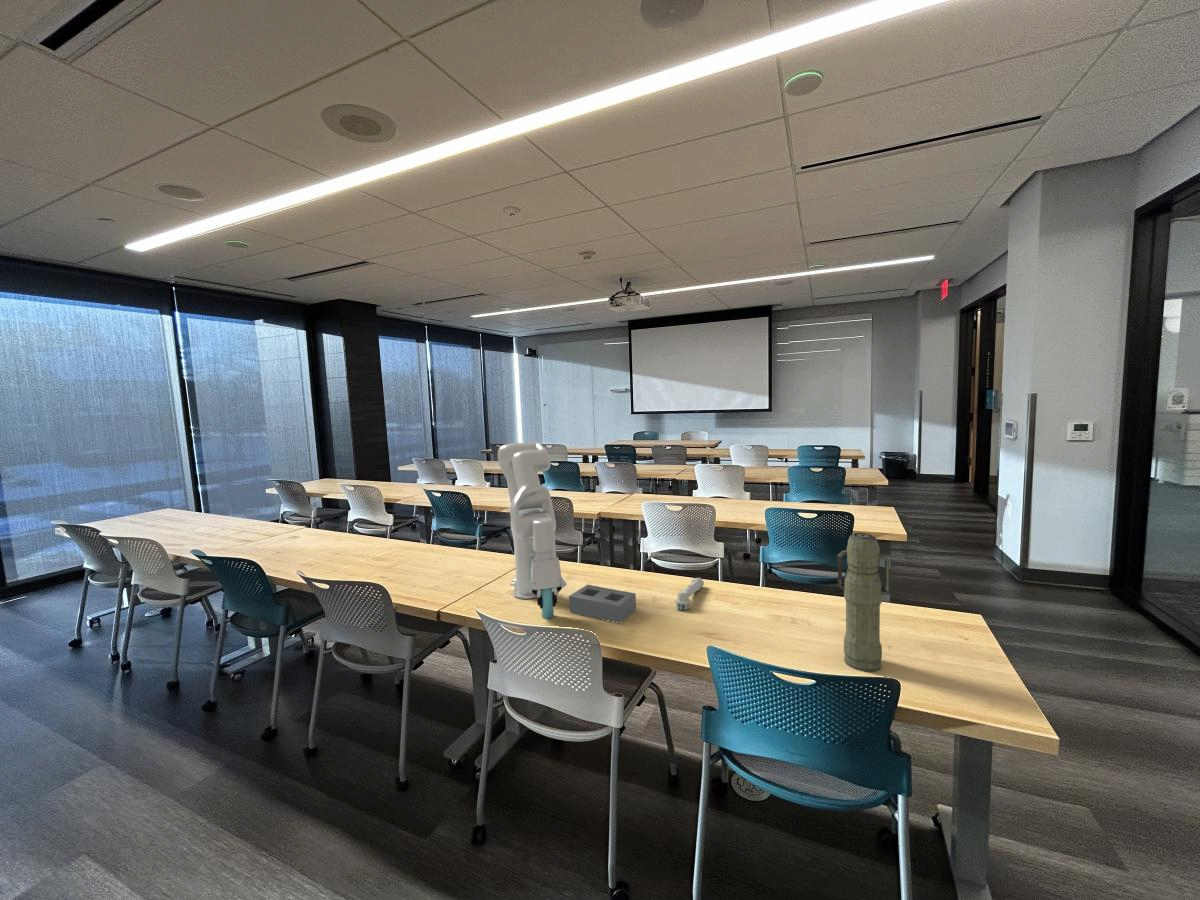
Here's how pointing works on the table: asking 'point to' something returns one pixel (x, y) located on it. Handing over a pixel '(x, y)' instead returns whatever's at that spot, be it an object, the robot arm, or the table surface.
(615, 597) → the hole block
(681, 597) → the grey handheld tool
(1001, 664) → the table surface
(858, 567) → the thermos
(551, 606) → the teal dowel
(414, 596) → the table surface
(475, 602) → the table surface
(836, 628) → the table surface
